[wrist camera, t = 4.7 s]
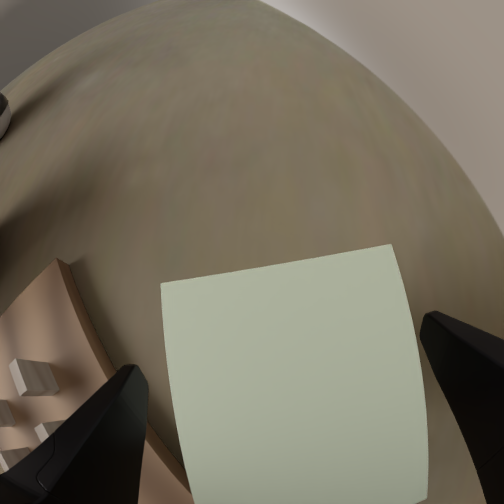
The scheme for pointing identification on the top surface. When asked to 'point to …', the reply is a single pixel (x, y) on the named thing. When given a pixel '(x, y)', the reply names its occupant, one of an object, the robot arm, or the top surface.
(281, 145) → the top surface
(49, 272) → the tan board with pegs
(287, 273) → the pale panelled upright block
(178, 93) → the top surface
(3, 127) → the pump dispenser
